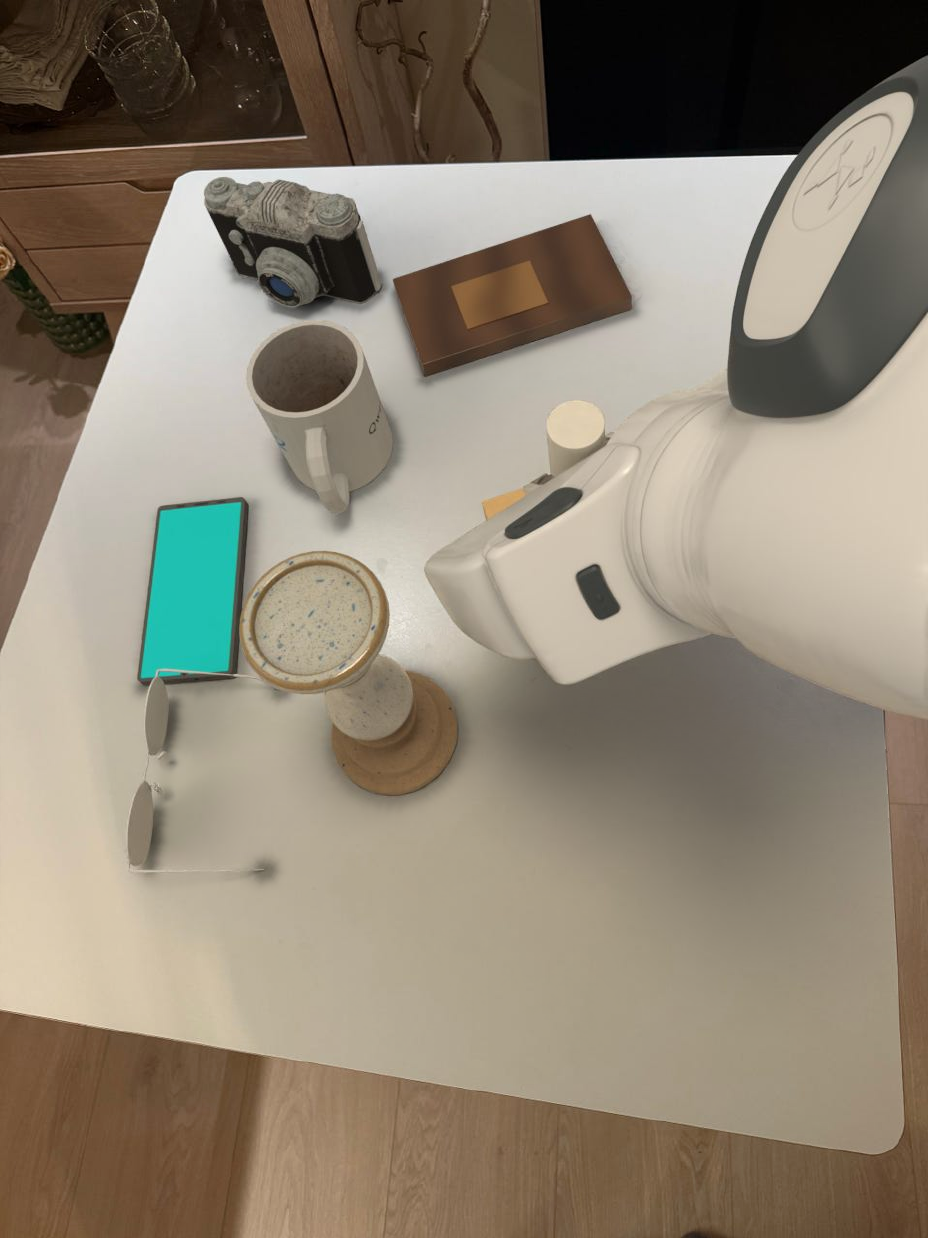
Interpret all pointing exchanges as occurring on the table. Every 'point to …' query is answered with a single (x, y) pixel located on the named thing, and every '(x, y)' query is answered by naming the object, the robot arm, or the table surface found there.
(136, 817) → the sunglasses
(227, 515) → the smartphone
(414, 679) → the candle holder
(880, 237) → the robot arm
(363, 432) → the mug
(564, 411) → the pillar on tan base
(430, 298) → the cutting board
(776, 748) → the table surface
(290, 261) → the camera
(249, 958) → the table surface
